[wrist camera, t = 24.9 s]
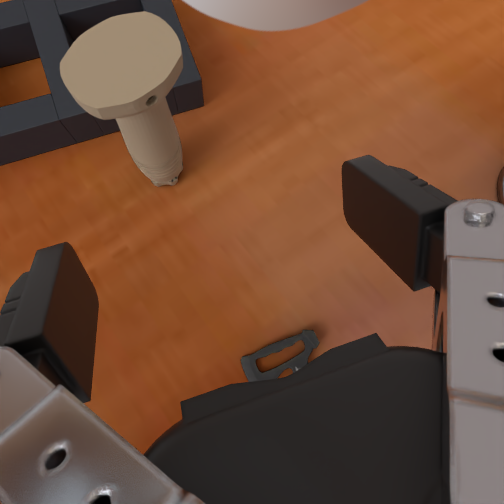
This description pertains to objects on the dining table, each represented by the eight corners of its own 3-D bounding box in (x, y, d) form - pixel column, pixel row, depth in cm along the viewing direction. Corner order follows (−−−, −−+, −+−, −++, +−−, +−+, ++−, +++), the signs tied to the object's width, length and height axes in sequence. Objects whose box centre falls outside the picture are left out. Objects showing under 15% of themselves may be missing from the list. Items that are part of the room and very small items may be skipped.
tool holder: (164, 1, 38) (157, -36, 35) (204, 106, 37) (201, 79, 33) (-61, 59, 36) (-96, 25, 32) (-31, 174, 34) (-64, 154, 30)
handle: (209, 171, 35) (198, 59, 21) (151, 213, 34) (96, 125, 19) (177, 132, 36) (144, -4, 21) (119, 172, 35) (42, 57, 20)
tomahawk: (239, 357, 33) (238, 358, 32) (310, 325, 33) (312, 325, 32) (347, 621, 29) (350, 632, 28) (425, 583, 30) (432, 593, 28)
